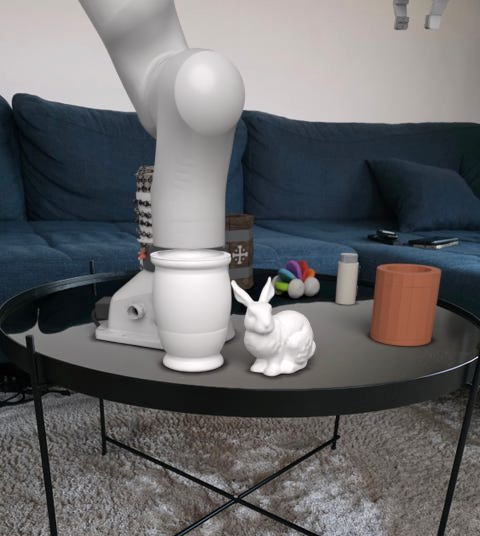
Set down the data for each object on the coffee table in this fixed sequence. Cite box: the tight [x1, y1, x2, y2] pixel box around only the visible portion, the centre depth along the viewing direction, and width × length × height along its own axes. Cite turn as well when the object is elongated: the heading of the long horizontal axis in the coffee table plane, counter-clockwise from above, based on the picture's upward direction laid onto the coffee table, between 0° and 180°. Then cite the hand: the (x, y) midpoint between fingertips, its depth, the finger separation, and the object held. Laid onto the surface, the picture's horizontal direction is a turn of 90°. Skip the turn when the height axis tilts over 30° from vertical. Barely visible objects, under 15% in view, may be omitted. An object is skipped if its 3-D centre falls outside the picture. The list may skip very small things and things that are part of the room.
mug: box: [225, 212, 255, 292], centre depth 132 cm, size 20×14×15 cm
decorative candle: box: [133, 165, 154, 272], centre depth 115 cm, size 9×9×25 cm
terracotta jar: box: [369, 263, 442, 347], centre depth 94 cm, size 10×10×11 cm
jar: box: [150, 249, 232, 373], centre depth 80 cm, size 11×10×15 cm
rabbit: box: [231, 276, 317, 377], centre depth 80 cm, size 12×9×12 cm
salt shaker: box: [334, 252, 360, 306], centre depth 118 cm, size 4×4×10 cm
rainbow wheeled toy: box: [271, 259, 321, 300], centre depth 124 cm, size 8×10×7 cm
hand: (415, 29), depth 93 cm, fingers open, 8 cm apart
